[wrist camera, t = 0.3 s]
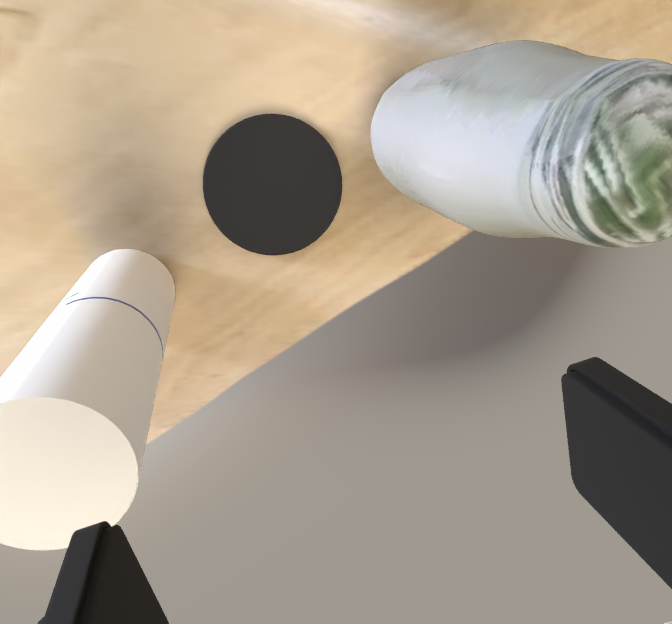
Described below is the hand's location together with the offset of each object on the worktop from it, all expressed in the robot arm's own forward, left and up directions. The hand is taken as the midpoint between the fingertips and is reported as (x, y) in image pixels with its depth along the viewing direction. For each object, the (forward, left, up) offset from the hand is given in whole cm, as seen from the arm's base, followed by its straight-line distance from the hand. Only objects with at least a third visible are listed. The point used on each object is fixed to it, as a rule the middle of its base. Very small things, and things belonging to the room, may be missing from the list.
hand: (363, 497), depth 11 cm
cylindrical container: (+4, -11, -37) cm, 39 cm away
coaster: (-1, +2, -37) cm, 37 cm away
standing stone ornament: (-2, +15, -37) cm, 40 cm away
